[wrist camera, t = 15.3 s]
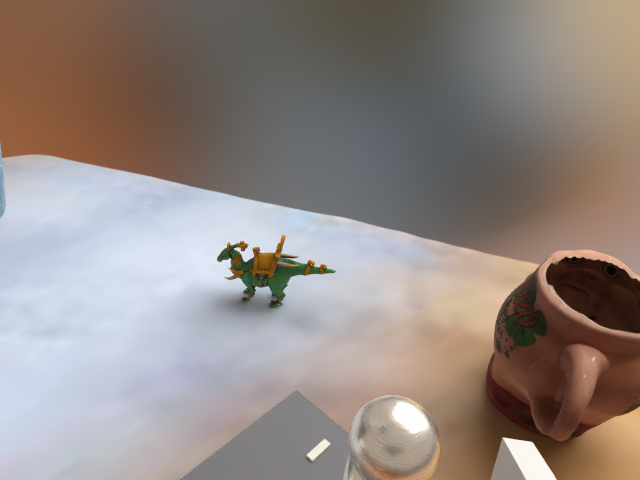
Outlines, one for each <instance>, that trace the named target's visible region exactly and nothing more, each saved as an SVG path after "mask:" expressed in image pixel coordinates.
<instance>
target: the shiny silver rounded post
mask: <svg viewBox="0 0 640 480" xmlns="http://www.w3.org/2000/svg"><path fill="white" fill-rule="evenodd" d="M348 450H349V456H348V460H347V464H346V468H345V471H344V475H343V479H342V480H428V479H429V478H430V477H431V476H432V474H433V472H434V471H435V469H436V467H437V464H438V461H439V457H440V437H439V433H438V430H437V427H436V425H435V422H434V421H433V419H432V417H431V416H430V415H429V413H428V412H427V411H426V410H425V409H424V408H423V407H422V406H421V405H419V404H418V403H416V402H415V401H413V400H411V399H409V398H406V397H402V396H397V395H386V396H381V397H378V398H375V399H373V400H371V401H369V402H368V403H366V404H365V405H364V406H363V407H362V408H361V409H360V410H359V411H358V412H357V414H356V415H355V417H354V419H353V420H352V423H351V426H350V429H349V434H348Z"/></svg>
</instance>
